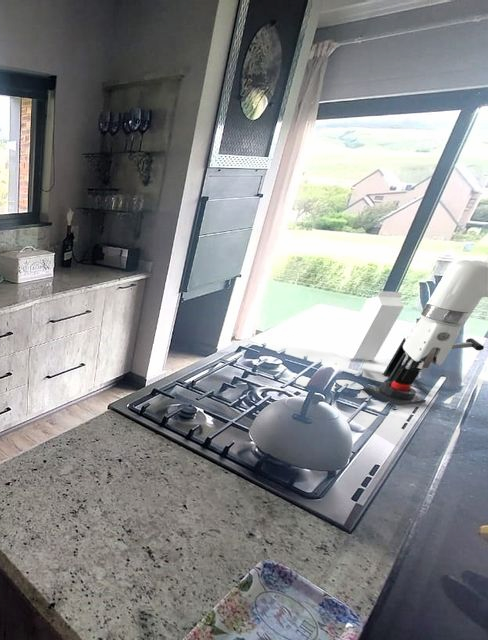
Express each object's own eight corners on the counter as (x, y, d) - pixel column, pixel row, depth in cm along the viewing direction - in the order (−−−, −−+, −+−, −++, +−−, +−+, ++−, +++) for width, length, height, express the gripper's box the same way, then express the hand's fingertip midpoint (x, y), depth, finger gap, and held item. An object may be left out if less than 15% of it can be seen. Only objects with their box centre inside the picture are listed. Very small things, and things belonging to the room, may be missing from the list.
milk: (371, 364, 125) (411, 296, 114) (350, 362, 125) (387, 294, 114) (358, 355, 130) (394, 289, 119) (338, 354, 131) (372, 287, 120)
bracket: (411, 382, 115) (437, 341, 109) (424, 396, 108) (452, 354, 102) (364, 372, 119) (386, 333, 113) (373, 386, 112) (397, 344, 106)
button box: (388, 391, 110) (396, 378, 108) (421, 407, 103) (430, 394, 101) (362, 393, 108) (370, 381, 106) (394, 410, 102) (403, 397, 100)
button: (396, 384, 106) (400, 379, 105) (411, 391, 103) (414, 385, 102) (386, 385, 105) (390, 380, 104) (400, 392, 102) (404, 386, 101)
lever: (473, 344, 105) (474, 336, 104) (483, 352, 101) (484, 343, 100) (403, 350, 112) (403, 342, 111) (410, 357, 108) (410, 349, 107)
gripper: (482, 328, 87) (433, 399, 96) (451, 308, 99) (409, 373, 108) (437, 321, 90) (393, 391, 99) (412, 302, 102) (374, 366, 110)
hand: (402, 381), depth 103 cm, fingers closed
